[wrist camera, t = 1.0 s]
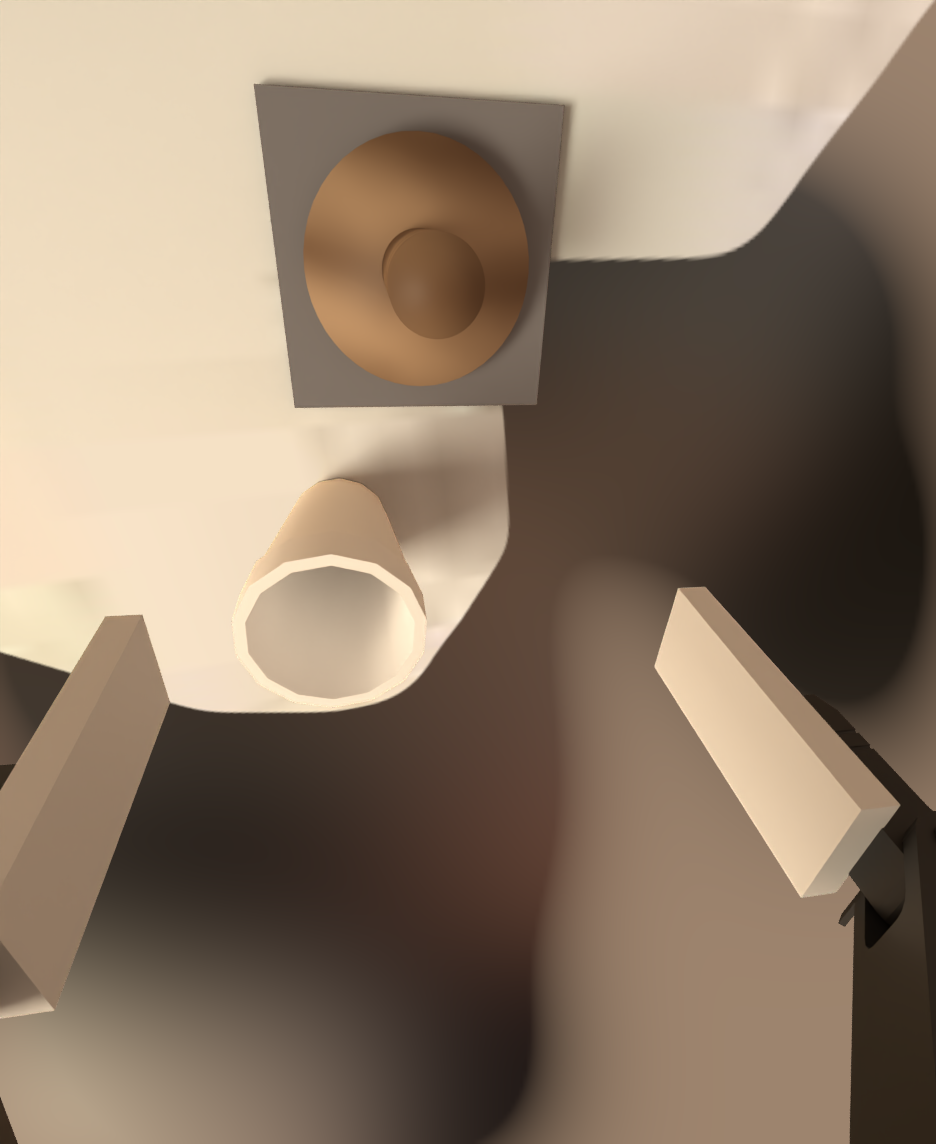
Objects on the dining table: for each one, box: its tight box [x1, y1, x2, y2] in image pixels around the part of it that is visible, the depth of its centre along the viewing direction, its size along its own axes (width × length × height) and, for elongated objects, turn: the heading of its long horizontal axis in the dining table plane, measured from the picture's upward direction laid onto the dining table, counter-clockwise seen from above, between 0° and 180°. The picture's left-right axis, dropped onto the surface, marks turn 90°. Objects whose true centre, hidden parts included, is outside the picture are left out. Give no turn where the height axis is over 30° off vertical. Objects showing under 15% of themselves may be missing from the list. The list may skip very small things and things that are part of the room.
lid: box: [303, 131, 529, 386], centre depth 28 cm, size 12×12×10 cm
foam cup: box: [232, 478, 427, 708], centre depth 34 cm, size 10×9×13 cm
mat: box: [254, 84, 564, 408], centre depth 32 cm, size 15×15×1 cm
